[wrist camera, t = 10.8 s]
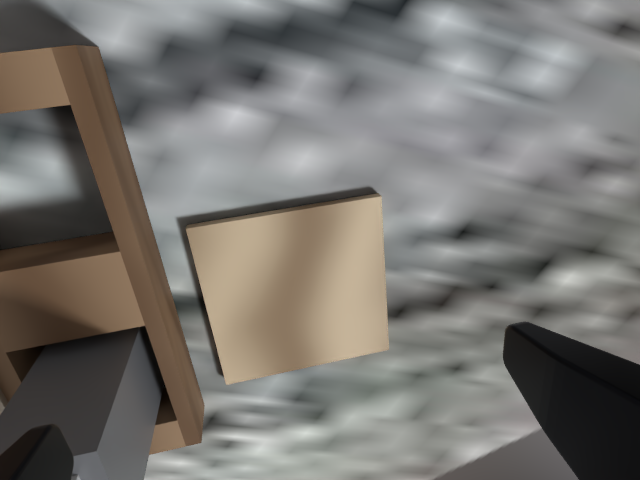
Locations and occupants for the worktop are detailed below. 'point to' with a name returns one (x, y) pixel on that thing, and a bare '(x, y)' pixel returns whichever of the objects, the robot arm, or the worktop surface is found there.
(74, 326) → the socket strip
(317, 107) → the worktop surface
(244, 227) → the pad
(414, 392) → the worktop surface
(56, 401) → the plug
